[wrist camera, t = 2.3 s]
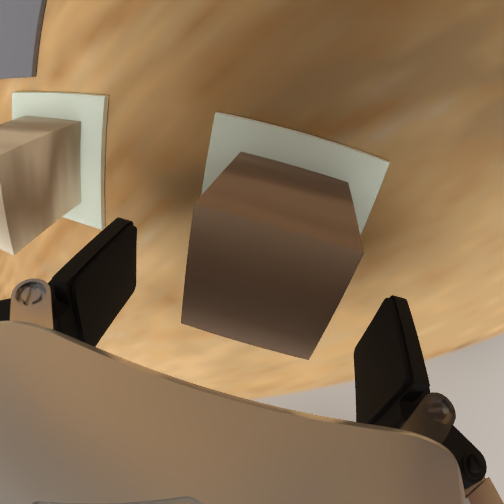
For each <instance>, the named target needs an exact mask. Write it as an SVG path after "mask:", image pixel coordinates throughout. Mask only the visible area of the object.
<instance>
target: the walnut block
mask: <svg viewBox="0 0 504 504" xmlns="http://www.w3.org/2000/svg"><path fill="white" fill-rule="evenodd" d="M363 253H364V252H363V246H362V241H361V236H360V232H359V227H358V222H357V218H356V213H355V209H354V204H353V200H352V196H351V192H350V188H349V184H348V182H345V181H342V180H339V179H336V178H333V177H330V176H327V175H323V174H320V173H317V172H314V171H310V170H307V169H304V168H300V167H297V166H293V165H290V164H286V163H283V162H279V161H275V160H272V159H268V158H264V157H260V156H257V155H253V154H249V153H245V152H240V153H239V154H238V155H237V156H236V157H235V158H234V159H233V161H232V162H231V163H230V164H229V165H228V166H227V167H226V168H225V169H224V170H223V172H222V173H221V174H220V175H219V176H218V177H217V178H216V179H215V181H214V182H213V183H212V184H211V185H210V186H209V187H208V189H207V190H206V191H205V192H204V193H203V194H202V195H201V197H200V198H199V199H198V200H197V201H196V202H195V204H194V210H193V217H192V225H191V232H190V240H189V249H188V257H187V266H186V275H185V285H184V295H183V305H182V316H181V323H182V324H185V325H188V326H191V327H195V328H198V329H201V330H204V331H207V332H210V333H213V334H217V335H220V336H223V337H226V338H230V339H233V340H236V341H240V342H243V343H247V344H250V345H254V346H257V347H261V348H265V349H268V350H272V351H276V352H279V353H283V354H287V355H291V356H295V357H299V358H303V359H307V360H309V358H310V357H311V355H312V353H313V351H314V349H315V348H316V346H317V344H318V342H319V340H320V339H321V337H322V335H323V333H324V331H325V329H326V328H327V326H328V324H329V322H330V320H331V318H332V316H333V314H334V312H335V310H336V308H337V307H338V305H339V303H340V301H341V299H342V297H343V295H344V293H345V291H346V289H347V287H348V285H349V283H350V281H351V279H352V276H353V274H354V272H355V270H356V268H357V266H358V264H359V262H360V260H361V258H362V255H363Z"/></svg>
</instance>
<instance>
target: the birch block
mask: <svg viewBox="0 0 504 504" xmlns="http://www.w3.org/2000/svg"><path fill="white" fill-rule="evenodd" d="M80 139H81V121H75V120H66V119H57V118H47V117H36V116H22V117H19V118H17V119H14V120H11V121H8V122H6V123H3V124H1V125H0V249H2V250H4V251H6V252H8V253H10V254H12V255H15V254H17V253H18V252H19V251H20V250H21V249H22V248H24V247H25V246H26V245H27V244H28V243H30V242H31V241H32V240H33V239H34V238H36V237H37V236H38V235H39V234H41V233H42V232H43V231H44V230H46V229H47V228H48V227H49V226H51V225H52V224H53V223H55V222H56V221H57V220H58V219H60V218H61V217H62V216H64V215H65V214H66V213H68V212H69V211H70V210H72V209H73V208H74V207H76V206H77V205H79V204H80V203H81V178H80Z"/></svg>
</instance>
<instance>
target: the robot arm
mask: <svg viewBox="0 0 504 504" xmlns="http://www.w3.org/2000/svg"><path fill="white" fill-rule="evenodd" d="M136 241H137V228H136V227H135V226H133V222H132V221H129V220H125V219H122V218H117V219H115V220H114V221H113V222H112V223H111V224H110V225H108V226H107V227H106V228H105V229H104V230H103V231H102V232H100V233H99V234H98V235H97V236H96V237H95V238H94V239H93V240H91V241H90V242H89V243H88V244H87V245H86V246H85V247H84V248H83V249H82V250H80V251H79V252H78V253H77V254H76V255H75V256H74V257H73V258H72V259H71V260H70V261H69V262H68V263H67V264H66V265H65V266H64V267H62V268H61V269H60V270H59V271H58V272H57V273H56V274H55V275H54V276H53V277H52V280H51V281H50V282H49V283H48V284H47V282H45V281H43V280H41V279H28V280H25V281H23V282H21V283H19V284H18V285H17V286H16V287H15V288H14V289H13V291H12V295H11V298H10V299H5V300H0V504H504V503H503V502H502V500H501V498H500V496H499V494H498V492H497V490H496V489H495V487H494V485H493V484H492V482H491V480H490V478H489V477H488V478H487V479H485V477H484V476H485V474H486V461H485V459H484V456H483V455H482V454H481V452H480V451H479V450H478V449H477V448H476V447H475V446H474V445H473V444H472V443H471V442H470V441H468V440H467V439H466V438H465V437H464V436H463V435H462V434H461V433H460V432H459V431H458V430H457V429H456V428H455V427H454V426H453V424H454V421H455V418H456V415H455V409H454V407H453V405H452V403H451V402H450V401H449V400H448V399H447V397H445V396H444V395H442V394H439V393H430V389H429V386H430V384H429V380H428V375H427V371H426V367H425V363H424V359H423V355H422V351H421V347H420V343H419V340H418V336H417V332H416V329H415V325H414V322H413V319H412V315H411V312H410V309H409V305H408V302H407V300H406V299H404V298H400V297H397V296H393V295H392V296H391V297H390V298H386V299H384V301H383V303H382V304H381V306H380V308H379V310H378V311H377V313H376V315H375V316H374V318H373V320H372V321H371V323H370V325H369V326H368V328H367V330H366V331H365V333H364V335H363V336H362V338H361V339H360V341H359V342H358V344H357V346H356V348H355V351H354V368H355V388H356V418H357V419H356V422H352V421H346V420H341V419H335V418H329V417H324V416H318V415H313V414H308V413H303V412H298V411H294V410H289V409H284V408H280V407H276V406H272V405H268V404H263V403H259V402H255V401H251V400H248V399H244V398H240V397H236V396H233V395H229V394H226V393H222V392H219V391H215V390H212V389H209V388H205V387H202V386H199V385H196V384H193V383H190V382H187V381H184V380H181V379H178V378H175V377H172V376H169V375H166V374H163V373H160V372H157V371H155V370H152V369H149V368H146V367H144V366H141V365H138V364H136V363H133V362H131V361H128V360H126V359H123V358H121V357H118V356H116V355H113V354H111V353H108V352H106V351H103V350H101V349H98V348H96V347H95V346H96V345H97V343H98V342H99V340H100V339H101V337H102V336H103V334H104V333H105V332H106V330H107V329H108V327H109V326H110V324H111V323H112V322H113V320H114V319H115V317H116V316H117V314H118V313H119V312H120V310H121V309H122V307H123V306H124V305H125V303H126V302H127V300H128V299H129V298H130V296H131V295H132V294H133V292H134V290H135V287H136Z"/></svg>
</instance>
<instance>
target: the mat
mask: <svg viewBox="0 0 504 504" xmlns="http://www.w3.org/2000/svg"><path fill="white" fill-rule="evenodd" d="M45 5H46V0H0V79H5V78H20V77H34V76H36V69H37V58H38V49H39V41H40V34H41V27H42V21H43V15H44V10H45Z"/></svg>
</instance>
